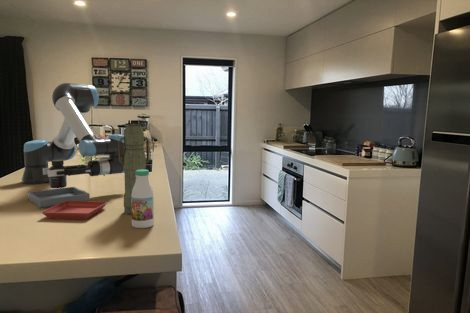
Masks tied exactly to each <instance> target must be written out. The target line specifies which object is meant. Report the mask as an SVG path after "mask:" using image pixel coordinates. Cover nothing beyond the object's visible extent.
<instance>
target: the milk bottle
mask: <svg viewBox="0 0 470 313" xmlns="http://www.w3.org/2000/svg"><path fill="white" fill-rule="evenodd" d="M135 174H136V182H135V185H134V187H133V189H132V194H131V212H132V215H131V225H132V228H135V229H146V228H151V227H154V224H155V200H154V199H155V197H154V190H153V187H152V185H151V183H150V180H149V176H150V171H149V169H141V170H136V171H135Z"/></svg>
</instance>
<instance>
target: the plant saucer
mask: <svg viewBox="0 0 470 313" xmlns="http://www.w3.org/2000/svg"><path fill="white" fill-rule="evenodd" d="M107 203H108V202H107V201H65V202H62V203H60V204H58V205H56V206H53V207H50V208H46V209H45V210H42V211H41V213H42V215H44V216H45V217H46V218H48V219H50V218H52V219H53V220H55V219H56V220H58V219H60V220H61V219H62V220H87V219H89V218H91V217H92V216H94V215H95V214H97V213H99V212H101V211H102V210H103V209H104V208H105V207H106V205H107ZM52 219H51V220H52Z"/></svg>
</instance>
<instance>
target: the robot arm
mask: <svg viewBox="0 0 470 313" xmlns="http://www.w3.org/2000/svg"><path fill="white" fill-rule="evenodd" d="M99 98H100V97H99V92H98V89H97V88H96V87H95V86H94V85H93V84H88V83H87V84H80V83H71V82H63V83H60V84H59V85H57V86H56V87H55V88H54V90H53V91H52V95H51V99H52V103H53V105H54V106H53V107H55V109H56V110H57V111H59V112H61V114H62V116H63V118H64V119H63V121H62V124H61V127H60V129H59V132H58V134H57V135H55V136H54V137H53V139H52V141H48V140H46V139H36V140H35V139H33V140H31V141H27V142H25V143H24V144H23V159H24V170H23V174H22V177H21V183H22V184H29V185H30V184H31V185H32V184H34V185H35V184H44V183H50V177H53V176H63V175H64V174H65V175H66V176H68V177H70V176H77V175H78V176H79V175H86V174H88V175H89V176H90V177H98V176H103V177H106V175H115V174H117V175H118V174H124V170H123V164H121V163H120V162H119V144H118V141H119V140H120V138H122V137H124V134H121V133H120V134H119V133H118V134H115V133H114V134H109V135H108V137H107V138H102V139H101V138H98V137H97V136H96V135H95V133H94V131H93V129H92V128H91V127H90V125H89V123H88V122H87V120H86V119H85V117H84V116H85V114H87V113H89V112H90V110H91V108H93V107H97V106H98V104H99ZM75 138H77V140H78V141H79V143H78V152H79V154H80V155H81V156H83V157H95V156H105V155H108V158H105V159H98V160H97V159H93V160H89V161H88V162H87V164H84V163H82V164H75V165H64V166H65V167H66V168H65V171H64V169H59V170H49V168H50V167H49V163H50V162H51V163H52V160H63V161H71V160H72V159H73V158H74V157H75V156H76V153H77V151H76V150H77V146H76V144H75V141H74V139H75ZM124 149H125V145H124V139H123V140H122V160H123V154H124Z"/></svg>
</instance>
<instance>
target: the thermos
mask: <svg viewBox="0 0 470 313" xmlns="http://www.w3.org/2000/svg"><path fill="white" fill-rule="evenodd" d="M123 136H124V137H122V138H120V140H119V141H118V144H119V162H120V163H121V164H123V170H124V173H123V174H124V193H123V207H124V210H123V211H124V212H123V213H124V214H126V215H131V216H132V212H131V194H132V189H133V187H134V185H135V182H136V174H135V171H136V170H141V169H145V170H147V163H150V158H151V157H150V156H151V152H150V148H151V147H150V139H149V138H148V137H147V136H145V133H144V129H143V126H141V125H140V124H128V125H125V128H124V131H123ZM123 139H124V145H125V149H124V154H123V160H122V140H123ZM145 140H146V142H145ZM144 145H145V146H146V152H145V148H144Z"/></svg>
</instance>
